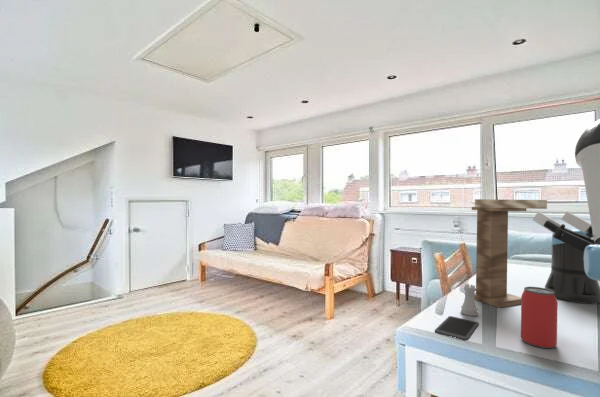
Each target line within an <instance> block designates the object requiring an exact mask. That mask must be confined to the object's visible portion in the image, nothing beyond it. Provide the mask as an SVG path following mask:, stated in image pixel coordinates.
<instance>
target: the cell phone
mask: <svg viewBox="0 0 600 397" xmlns="http://www.w3.org/2000/svg"><path fill="white" fill-rule="evenodd" d="M479 323H480V322H478V321H474V320H471V319H465V318H461V317H458V316H452V315H451V316H450V315H449V316H448V317H447V318H445V320H443V321H442V323H440V324H439V325H438V326H437V327H436V328H435V329H434V333H436V334H438V335H441V336H445V335H446V337H449V336H452V337H451V338H453V337H456V338H455V339H457V338H459V339H458V340H460V339H462V340H461V341H465V340H467V341H468V340H470V338H471V337H472V335H473V334H474V333H475V331H476V330H477V328H478V327H479V325H480V324H479Z"/></svg>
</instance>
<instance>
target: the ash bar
mask: <svg viewBox="0 0 600 397" xmlns="http://www.w3.org/2000/svg"><path fill="white" fill-rule="evenodd" d="M474 207H499V208H526V209H530V210H531V209H535V210H539V209H540V210H546V209H548V200H547V199H489V198H488V199H487V198H486V199H481V198H479V199H474Z"/></svg>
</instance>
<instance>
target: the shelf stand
mask: <svg viewBox="0 0 600 397" xmlns="http://www.w3.org/2000/svg"><path fill="white" fill-rule="evenodd" d="M471 211H476V257H475V258H476V260H475V264H476V266H475V268H476V269H475V271H476V272H475V275H476V276H475V288H476V291H475V292H474V294H475V296H474V299H475V301H477V302H481V303H484V304H488V305H490V306H494V307H497V308H499V309H500V308H505V306H506V307H512V306H517V305H521V296H518V295H513V294H510V293H507V292H508V288H507V287H508V247H509V246H508V243H509V242H508V241H509V240H508V238H509V237H508V236H509V235H508V234H509V233H508V232H509V212H527V208H499V207H475V206H471ZM516 304H517V305H516ZM511 305H512V306H511Z"/></svg>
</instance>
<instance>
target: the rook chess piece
mask: <svg viewBox="0 0 600 397" xmlns="http://www.w3.org/2000/svg"><path fill="white" fill-rule="evenodd" d="M463 289H464V301H463V303H462V305H461V307H460V308H461V310H460V312H461V314H463V315H465V316H468V317H476V316H478V315H479V313H478V311H479V308H478V307H477V305H476V300H475V299H474V296H475V294H474V293H476V285H473V284H469V283H467V284H464V286H463Z"/></svg>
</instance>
